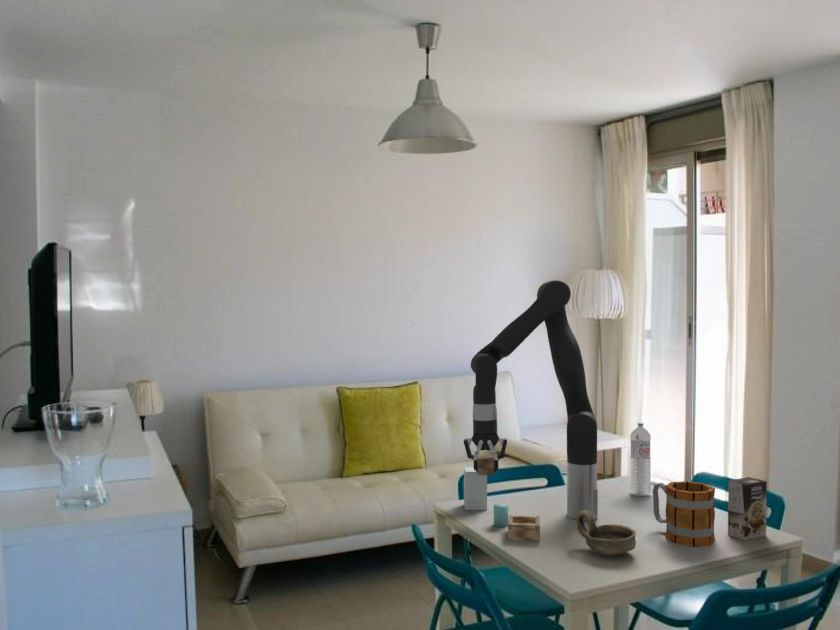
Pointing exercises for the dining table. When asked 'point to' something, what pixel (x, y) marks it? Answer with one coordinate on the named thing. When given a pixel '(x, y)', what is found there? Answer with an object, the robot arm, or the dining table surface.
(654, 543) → the dining table surface
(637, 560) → the dining table surface
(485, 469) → the walnut block
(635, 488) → the water bottle
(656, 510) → the mug
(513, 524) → the oak base
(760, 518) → the coffee box
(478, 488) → the supplement box
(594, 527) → the bowl
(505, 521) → the teal cylinder
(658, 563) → the dining table surface
